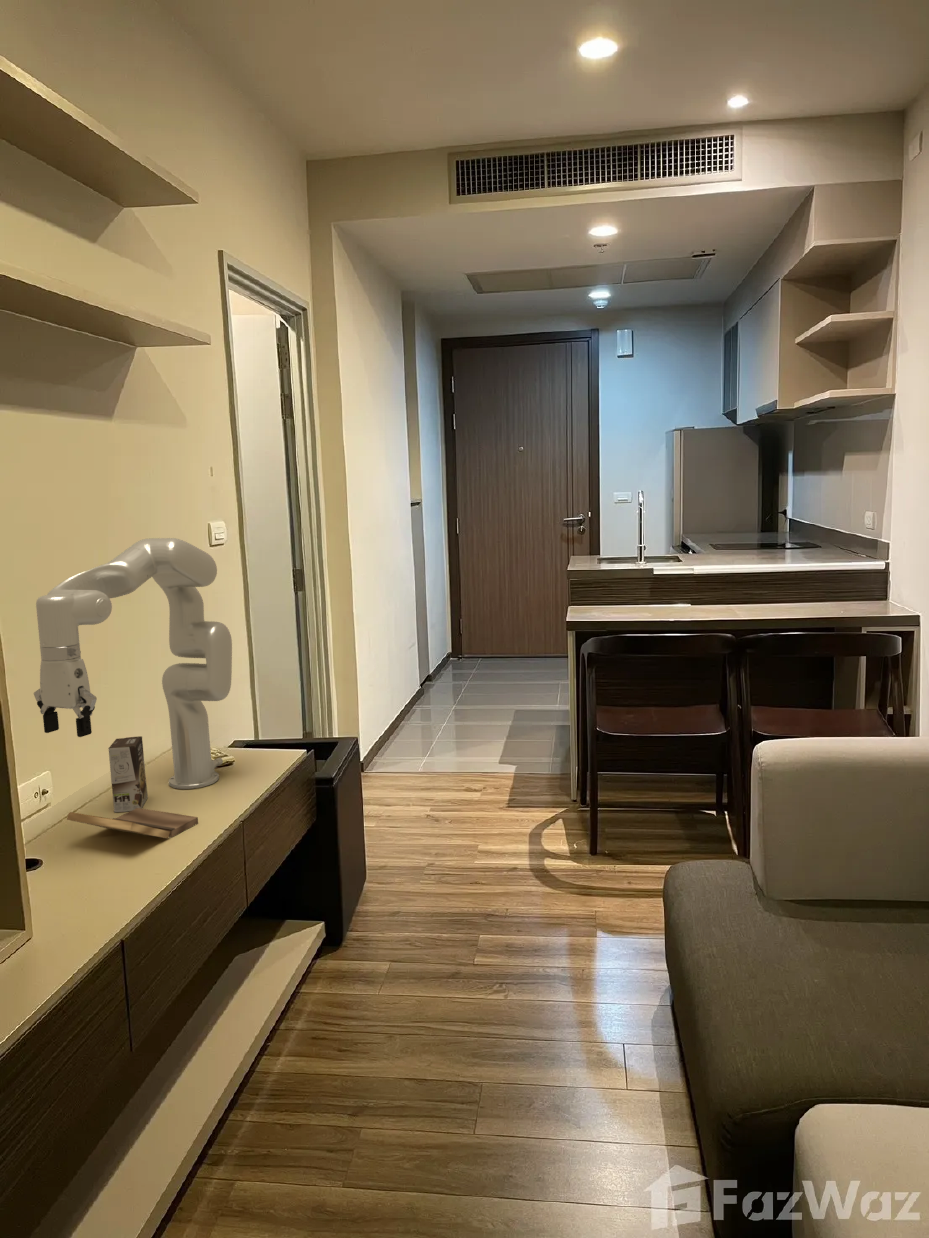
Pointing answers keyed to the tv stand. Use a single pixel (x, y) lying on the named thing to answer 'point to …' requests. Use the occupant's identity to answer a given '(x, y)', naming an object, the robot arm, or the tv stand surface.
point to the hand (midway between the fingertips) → (68, 733)
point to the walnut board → (160, 820)
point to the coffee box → (128, 774)
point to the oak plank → (117, 825)
